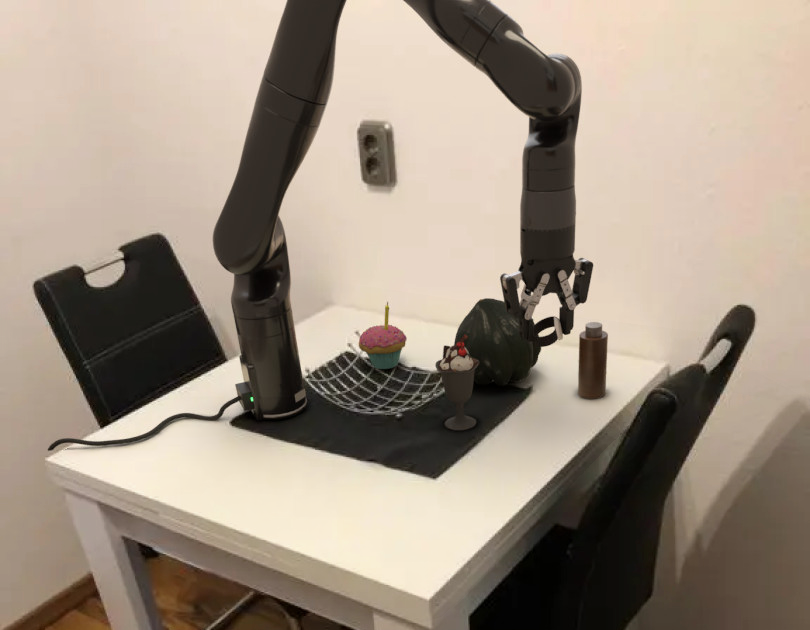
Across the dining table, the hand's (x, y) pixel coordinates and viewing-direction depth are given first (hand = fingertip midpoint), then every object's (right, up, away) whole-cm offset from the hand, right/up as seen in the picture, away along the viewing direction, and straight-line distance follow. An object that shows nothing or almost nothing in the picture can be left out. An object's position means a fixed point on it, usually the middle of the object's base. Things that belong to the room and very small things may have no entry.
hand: (546, 336), depth 134 cm
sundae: (-12, -12, +9) cm, 19 cm away
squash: (-5, -2, +23) cm, 24 cm away
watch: (0, -1, 0) cm, 1 cm away
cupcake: (-24, +2, +32) cm, 40 cm away
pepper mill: (+10, -6, +14) cm, 18 cm away
